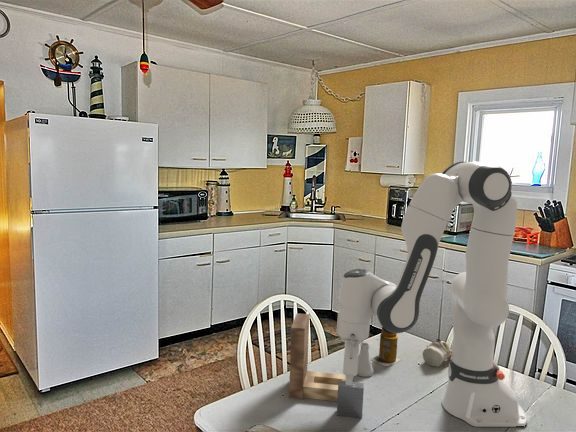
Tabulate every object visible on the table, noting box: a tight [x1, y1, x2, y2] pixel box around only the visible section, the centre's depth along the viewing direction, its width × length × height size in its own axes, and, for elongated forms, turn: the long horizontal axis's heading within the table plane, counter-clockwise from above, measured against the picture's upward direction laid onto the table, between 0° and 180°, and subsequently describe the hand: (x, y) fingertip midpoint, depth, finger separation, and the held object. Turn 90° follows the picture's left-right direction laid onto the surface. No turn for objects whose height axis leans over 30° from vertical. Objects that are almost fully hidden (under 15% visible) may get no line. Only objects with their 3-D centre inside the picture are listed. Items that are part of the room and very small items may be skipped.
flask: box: [356, 341, 375, 378], centre depth 154 cm, size 7×7×10 cm
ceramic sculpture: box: [422, 338, 452, 368], centre depth 164 cm, size 11×9×15 cm
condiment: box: [370, 326, 401, 367], centre depth 163 cm, size 7×8×12 cm
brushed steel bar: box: [336, 381, 365, 419], centre depth 129 cm, size 7×3×9 cm, turn 81°
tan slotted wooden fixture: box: [288, 312, 346, 402], centre depth 140 cm, size 18×12×22 cm, turn 81°
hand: (349, 375), depth 128 cm, fingers open, 8 cm apart
